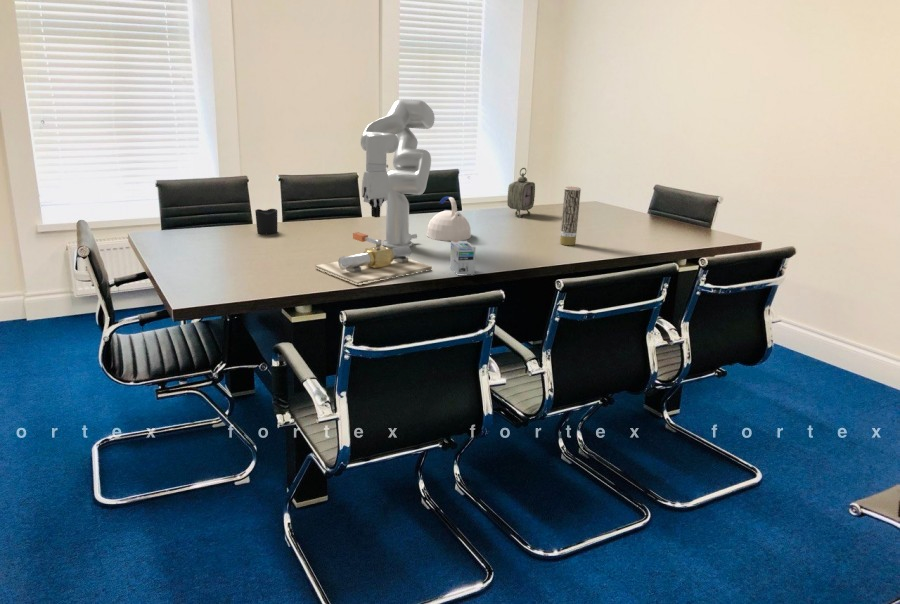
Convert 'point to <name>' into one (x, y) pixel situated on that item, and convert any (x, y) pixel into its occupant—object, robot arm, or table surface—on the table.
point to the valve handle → (365, 238)
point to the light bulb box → (462, 257)
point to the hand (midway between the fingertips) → (375, 216)
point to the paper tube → (570, 215)
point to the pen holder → (266, 221)
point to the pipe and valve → (375, 258)
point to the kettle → (449, 224)
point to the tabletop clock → (521, 194)
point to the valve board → (375, 271)
